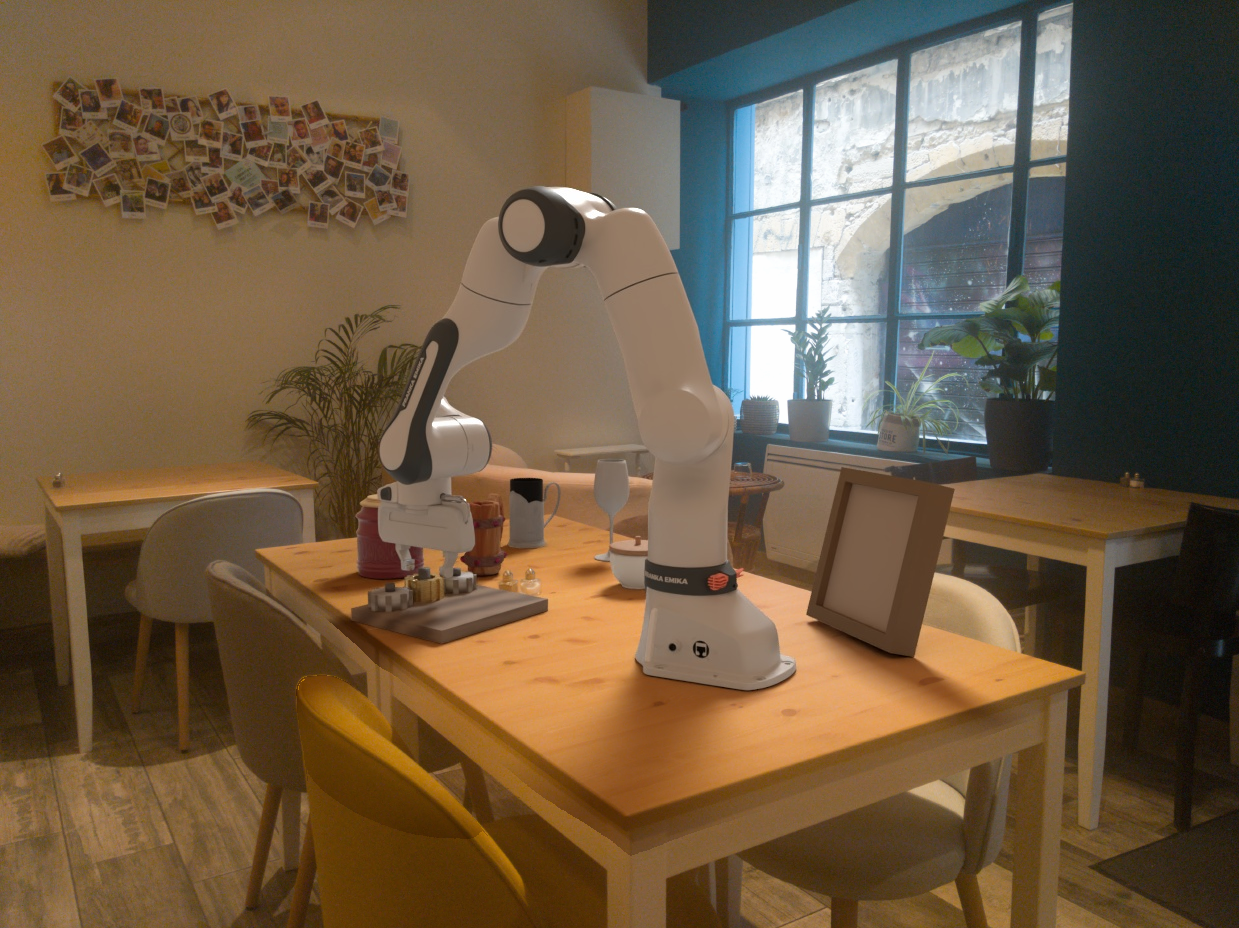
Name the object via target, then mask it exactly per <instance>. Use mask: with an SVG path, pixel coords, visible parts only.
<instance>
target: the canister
mask: <svg viewBox="0 0 1239 928" xmlns="http://www.w3.org/2000/svg"><path fill="white" fill-rule="evenodd" d="M389 484H390V483H389ZM389 484H385V485H384V486H386V485H389ZM381 502H382V501H380V500H378V497H377V493H376V494H371V495H370V494H369V495H367V497H366V498H364V499H363V500H361V501H360V502H359V505H360V506H362V507H361V509H360V510H359V511H358V512H356V513H355V518H356V519H357V520H358V528H357V530H356V531H355V534H356V540H357V541H356V542H357V543H356V545H357V547H356V549H357V560H356V568H357V572H358V575H359V576H361V577H364V578H367V579H375V580H376V579H377V580H378V579H379V580H388V579H389V580H391V579H392V580H393V579H404V578H405V577H407V576H408V575H413V574H418V568H421V567H425V557H424V548H421V547H414V546H410V549H409V552H410V555H411V558H412V559H415V564H414V565H415V568H414V570H410V571H407V570H402V569H401V560H400V558H399V556H398V553H397V551H396V543H389V542H384V541H382V539H381V537H380V535H379V530H378V507H379V504H380V503H381Z"/></svg>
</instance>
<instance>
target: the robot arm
mask: <svg viewBox="0 0 1239 928" xmlns="http://www.w3.org/2000/svg"><path fill="white" fill-rule="evenodd" d="M498 215H499V216H496V217H492V218H490V219H488V220H487V221H485V222H484V223H483V225H482V226H481V228H480V229H479V232H478V234H477V236H476V238H475V240H474V242H473V244H472V247H471V249H470V251H469V252H470V253H469V254H468V257H467V260H466V262H465V263H466V264H465V267H464V270H463V272H462V277H461V279H460V284H459V288H458V290H457V293H456V295H455V297H454V299H453V301H452V303H451V304H450V306H449V308H448V310H447V311H446V313H445V314H444V315H443V316H442V318H441V319H439V320H438V321H437V322H436V323H435V324H434V325H432V326H431V328H430V329H429V331H428V332H427V334H426V336H425V338H424V340H423V343H422V345H421V348H420V350H419V352H418V355H417V357H416V360H415V362H414V364H413V368H412V369H411V372H410V375H409V377H408V379H407V381H406V384H405V387H404V390H403V393H402V395H401V397H400V400H399V402H398V405H397V407H396V409H395V412H393V413H394V414H393V415H392V416H391V418H390V420H389V421H388V423H387V425H386V427H385V428H384V430H383V432H382V434H381V436H380V440H379V443H378V458H379V461H380V464H381V465H382V467H383V469H384V470H385V471H386V472H387V474H388V475H389V476H390V477H391V478H393V480H395V481H394V482H392V483H389V485H387V484H385V485H386V486H385V485H384V486H381V487H379V488H378V489H377V491H376V492H377V493H376V494H377V497H378V500H380V501H382V502H381V503H380V504H379V507H378V530H379V535H380V537H381V539H382V541H384V542H389V543H396V551H397V553H398V556H399V558H400V560H401V569H402V570H407V571H410V570H414V568H415V565H414V564H415V559H412V558H411V555H410V552H409V549H410V546H414V547H421V548H423V549H427V550H428V549H429V550H434V551H435V550H436V551H439V552H440V551H441V552H442V558H444V561H443V563H442V565H441V566H438V571H439V574H438V575H439V576H440V577H444V578H449V577H452V576H453V568H454V566H455V564H456V562H457V559H458V558H459V554H465V553H466V552H468V551H471V550H472V549H473V547H474V545H475V535H474V526H473V520H472V515H471V512H470V505H469V502H468V501H467V499H465V497H464V496H463V495H460V494H459V495H458V494H457V495H454V494H452V478H454V477H459V476H460V477H461V476H462V477H463V476H469V475H474V474H477V473H479V472H482V471H483V470H484V469H485V468H486V467H487V466H488V464H489V462H490V459H491V458H492V457H491V456H492V453H493V452H492V451H493V440H492V435H491V432H490V430H489V428H488V426H487V425H486V423H484V422H483V421H482V420H481V419H480V418H478V417H474V416H470V415H468V414H466V413H463V412H462V411H461V410H458V409H456V408H455V407H453V406H452V405H451V404H450V403H449V401H448V399H447V397H445V394H446V393H447V389H448V387H449V384H450V382H451V381H452V379H453V377H454V376H456V374H457V373H458V372H459V371H461V370H462V369H463V368H464V367H466V366H467V365H469V364H472V363H473V362H475V361H477V360H479V359H481V358H483V357H486V356H489V355H491V354H494V353H497V352H500V351H502V350H504V349H506V348H508V347H509V346H511V345H512V344H513V343H515V342H516V341H517V340H518V339H519V338H520V336H521V335H522V333H523V331H524V329H525V328H526V326H527V323H528V320H529V317H530V314H531V311H532V308H533V307H532V306H533V304H534V299H535V295H536V293H537V289H538V288H537V287H538V285H539V281H540V279H541V277H542V275H543V273H545V271H546V270H547V269H549V268H557V269H563V270H568V269H570V270H571V269H579V268H587V269H588V271H590V272H591V274H592V276H593V277H594V279H595V282H596V284H597V286H598V287H597V288H598V290H599V293H600V296H601V298H602V302H603V305H604V307H605V310H606V313H607V315H608V319H609V321H610V324H611V327H612V330H613V332H614V335H615V338H616V341H617V343H618V347H619V350H620V352H621V355H622V360H623V363H624V368H625V373H626V378H627V381H628V387H629V391H630V396H631V399H632V404H633V408H634V412H635V414H636V418H637V423H638V424H637V425H638V432H639V433H638V434H639V437H640V439H641V441H642V444H643V445H644V447H645V448H646V450H647V451H648V452H650V454H651V455H652V456H653V457H654V458H655V459H654V466H653V467H654V468H653V475H652V483H651V488H650V495H649V499H648V505H647V510H648V512H647V540H648V557H647V558H646V559H645V569H644V584H645V589H644V591H645V604H644V605H645V606H644V607H645V608H644V613H643V614H644V615H643V622H642V627H641V631H640V636H639V642H638V646H637V649H636V651H635V654H634V658H635V660H636V661H637V663H639V664H640V665H641V666H642V672H643V673H644V674H645V675H647V676H653V677H660V678H666V679H671V680H678V681H685V682H691V683H697V684H701V685H702V684H703V685H709V686H716V687H724V688H729V689H734V690H735V689H736V690H741V691H742V690H743V691H752V690H757V689H758V690H760V689H764V688H767V687H771V686H774V685H776V684H779V683H780V682H782V681H784V680H787V679H788V678H790V677H791V676H793V674H794V673H795V672H796V670H797V664H796V663H797V662H796V659H795V658H794V657H793V656H789V655H786V654H782V653H781V648H780V640H779V634H778V629H777V627H776V624H775V622H774V621H773V620H772V619H771V618H770V616H768V615H766V614H765V613H764V612H763V611H762V610H761V609H760V608H759V606H757V605H756V604H754V603H753V602H752V600H750V598H748V597H747V596H746V595H745V594H744V593H743V592H742V591H741V590H740V589H739V588H738V587H739V585H738V582H737V581H738V580H737V579H738V578H740V577H744V575H745V574H744V573H743V574H741V573H742V572H743V571H744V570H745V569H744V567H741V568H738V569H735V568H733V566H732V564H731V561H729V559H728V522H729V521H728V517H729V516H728V513H729V510H728V509H729V495H730V484H731V477H732V476H731V475H732V462H733V461H732V460H733V449H734V432H735V431H734V430H735V429H734V428H735V413H734V407H733V404H732V402H731V400H730V398H729V397H728V396H727V394H726V393H725V392H724V391H723V390H722V389H721V388H720V387H718V386H717V385H714V384H713V381H712V379H711V378H712V377H711V374H710V370H709V367H708V364H707V360H706V356H705V352H704V349H703V344H702V341H701V335H700V330H699V326H698V323H697V320H696V318H695V317H696V316H695V315H694V312H693V309H692V306H691V304H690V301H689V299H688V296H687V292H686V289H685V287H684V284H683V281H682V278H681V276H680V273H679V270H678V268H677V267H678V266H677V265H676V263H675V260H674V257H673V256H672V253H671V251H670V249H669V247H668V245H667V243H666V240H665V239H664V237H663V235H662V233H661V231H660V230H659V228H658V226H657V225H656V224H657V223H655V221H654V220H653V218H652V217H651V216H650V214H648V212H646V211H644V210H642V209H641V208H636V207H622V208H618V207H617V206H616V205H615V204H614V202H612V201H611V200H609V199H607V198H606V197H604V196H603V195H600V194H598V193H594V192H586V191H582V190H577V189H574V188H570V187H565V186H548V187H547V186H543V185H535V186H529V187H525V188H522V189H519V190H518V191H515V192H514V193H512V194H511V195H510V196H509V197H508V198H507V199H506V200H505V202H503V205H502V207H501V209H500V212H499V214H498Z"/></svg>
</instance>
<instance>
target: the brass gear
mask: <svg viewBox="0 0 1239 928" xmlns="http://www.w3.org/2000/svg"><path fill="white" fill-rule="evenodd" d="M403 579H404V587H408V588H409V590H413V602H428V601H431V602H434V601H436V600H441V599H443V598H444V577H440V576H439V574H438V573H437V572H436V573H435V572H432V573H430V579H426V580H418V574H413V575H408V576H407V577H404V578H403Z"/></svg>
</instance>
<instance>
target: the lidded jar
mask: <svg viewBox="0 0 1239 928" xmlns="http://www.w3.org/2000/svg"><path fill="white" fill-rule="evenodd" d="M634 537H635V539H626V540H618V541H613V543H611V544H610V543H609V546H608V547H609V548H608V550H609V549H610V562H609V563H610V568H611V571H612V575H613V576H614V578H615V579H616V581H617V582H619V583H620V584H621V587H623V588H624V589H629V590H645V584H644V569H645V559H646V558H647V557H648V539H642V536H641V535H635V536H634Z"/></svg>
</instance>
